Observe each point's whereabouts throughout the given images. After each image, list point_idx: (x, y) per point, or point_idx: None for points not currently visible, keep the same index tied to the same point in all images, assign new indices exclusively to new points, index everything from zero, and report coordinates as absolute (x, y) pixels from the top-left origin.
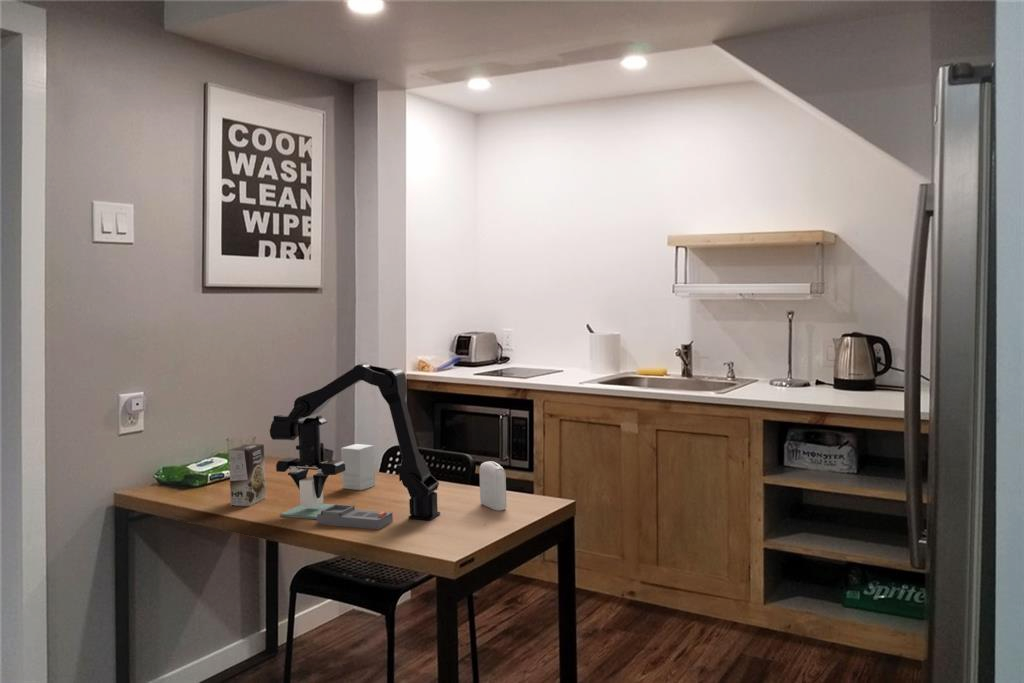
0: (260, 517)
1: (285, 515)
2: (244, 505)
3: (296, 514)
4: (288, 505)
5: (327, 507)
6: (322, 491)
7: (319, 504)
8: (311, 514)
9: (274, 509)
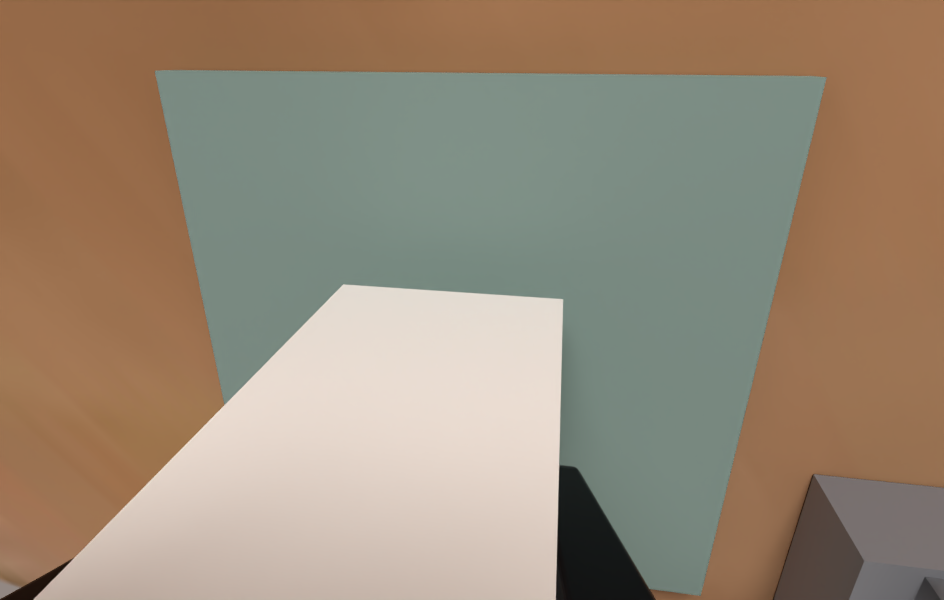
0: None
1: None
2: None
3: None
4: (16, 165)
5: (613, 246)
6: (559, 415)
7: (406, 123)
8: None
9: (30, 340)
